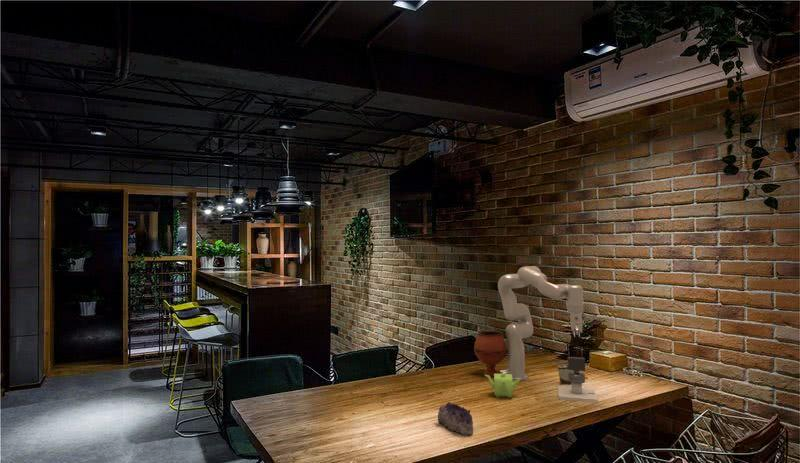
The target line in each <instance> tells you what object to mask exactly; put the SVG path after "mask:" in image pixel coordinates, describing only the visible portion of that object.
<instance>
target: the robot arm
mask: <svg viewBox="0 0 800 463" xmlns="http://www.w3.org/2000/svg"><path fill="white" fill-rule="evenodd" d="M529 285H531V286H533V287H535V288H536V289H537V290H538V292H539V293H540V294H542V295H543V296H545V297H548V298H549V299H552V300H561V299H567V313H570V314H569V316H570V329H571V332H572V342H573V345H574V346H581V343H582V342H581V334H582V333H583V318H582V314H583V313H584V290H583V286H582V285H579V284H576V285H575V284H573V285H572V284H568V283H561V284H559V283H558V284H553V283H551V282H548V277H547V275H546V274H545V273H543V272H542V271H541V269H540V268H539V267H538V266H534V265H532V266H527V265H526V266H522V267H520V268H519V269H518V270H517V273H508V274H504V275H501V277H500V278H499V279H498V282H497V289H498V293H499V295H500V299H501V304H502V309H503V312H504V317H505V319H506V320H507V321H518V322H511V323H509V324H508V325H507V326H506V328H505V336H506V342H507V343H506V344H507V368H506V369H500V370H499V374H501V373H505V374H512V379H513V381H516V380H517V379H519V380H520V381H524V380H527V379H528V378H529V377H528V375H527V374H526V366H525V365H526V364H525V363H526V360H525V358H526V357H525V356H526V355H525V354H526V353H525V343H524V341H523V339H525V338H527V339H528V338H530V337H531V336H533V334H534V325H533V324H534V323H533V320H532V317H531V316H532V315H531V312H530V309H529V307H528V306H527V305H526V304H525V303H520V302H519V303H518V301H517V296H516V293H515V292H514V291H513V290H512V289H521V288H522V289H523V288H525V287H528V286H529Z"/></svg>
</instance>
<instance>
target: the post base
mask: <svg viewBox="0 0 800 463" xmlns="http://www.w3.org/2000/svg"><path fill="white" fill-rule="evenodd" d="M557 392H558V394H557V395H558V400H562V401H563V400H564V401H571V400H572V401H573V402H583V403H595V404H598V403H599V400H598V396H597V394H596V391H595V388H588V387H583V383H572V385H571V386H566V385H557Z"/></svg>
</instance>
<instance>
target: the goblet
mask: <svg viewBox="0 0 800 463" xmlns="http://www.w3.org/2000/svg"><path fill="white" fill-rule="evenodd" d="M473 352H474V355H475V356H476V358H477V359H478V360H479V361H480V362H481V363H483V364H485V367H486V369H485V370H484V372H483V375H484V376H485V375H489V376H490V377H494V373H495V374H499V372H498V371H497V369H495V368H496V365H498V364H499V363H501V362H502V361H503V360H504V359H505V357H506V355H507V354H508V345H507V343H506V340H505V339H504V336H503V332H502V331H499V330H498V331H497V330H478V332H477V336H476V339H475V341H474V346H473Z"/></svg>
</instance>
